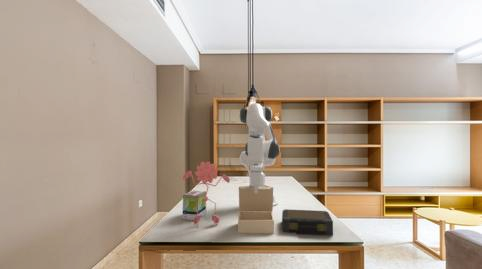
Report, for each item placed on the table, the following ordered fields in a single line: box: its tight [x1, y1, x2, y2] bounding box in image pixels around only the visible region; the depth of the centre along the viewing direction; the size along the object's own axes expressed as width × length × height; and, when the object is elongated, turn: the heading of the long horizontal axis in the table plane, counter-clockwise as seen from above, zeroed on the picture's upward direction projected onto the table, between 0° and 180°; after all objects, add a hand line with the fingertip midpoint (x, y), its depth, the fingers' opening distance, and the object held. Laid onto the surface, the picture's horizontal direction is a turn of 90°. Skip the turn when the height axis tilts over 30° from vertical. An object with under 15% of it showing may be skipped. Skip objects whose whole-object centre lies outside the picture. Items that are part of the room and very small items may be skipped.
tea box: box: [182, 190, 207, 221], centre depth 172 cm, size 15×10×15 cm, turn 168°
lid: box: [238, 185, 274, 213], centre depth 153 cm, size 18×17×3 cm
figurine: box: [182, 161, 231, 228], centre depth 158 cm, size 15×26×35 cm, turn 95°
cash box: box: [281, 208, 334, 236], centre depth 150 cm, size 25×20×8 cm
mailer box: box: [237, 211, 275, 234], centre depth 149 cm, size 18×16×7 cm
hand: (255, 192), depth 146 cm, fingers closed
